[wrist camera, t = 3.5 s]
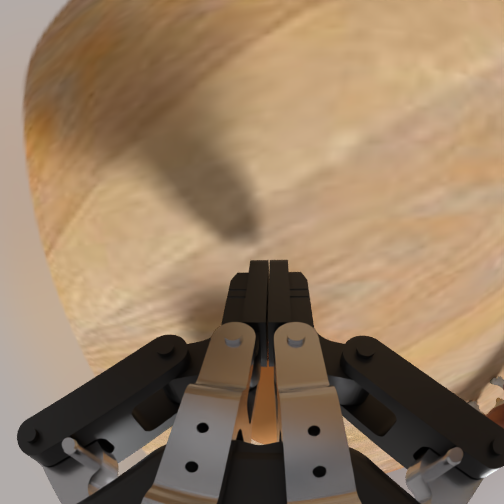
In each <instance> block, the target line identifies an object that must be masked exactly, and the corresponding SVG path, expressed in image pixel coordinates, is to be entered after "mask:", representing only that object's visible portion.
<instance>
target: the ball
mask: <svg viewBox="0 0 504 504" xmlns="http://www.w3.org/2000/svg"><path fill="white" fill-rule="evenodd" d="M251 439H253V440H255V441H257V442H259V443H262V444H270V443H275V442H277V429H276V412H275V397H274V367H269V360H267V367H261V374H260V380H259V388H258V394H257V400H256V407H255V412H254V418H253V424H252V433H251Z"/></svg>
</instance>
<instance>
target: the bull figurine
mask: <svg viewBox="0 0 504 504" xmlns="http://www.w3.org/2000/svg"><path fill="white" fill-rule="evenodd" d="M490 383H491V384H494V385H498V386H500V387H502V388H503V390H504V380H503V379H502V377H501V376H498V377H497V378H493V379H492V380H491V381H490ZM468 404H469V405H471V406H472V407H474V408H475V409H476V410H478V411H479V412H481V411H480V410H479V405H477V402H476V401H470V402H468ZM481 413H482V414H484V413H483V412H481ZM484 415H485V414H484ZM485 416H486V417H488V418H489V419H491V420H492V421H494V422H495V423H496V424H498V425H499V426H501V427H502V428H503V429H504V400H503V399H500V398H497V399H496V405H495V407H494V408H493V409H492V410H491V411H490V412H489V413H488V414H487V415H485Z"/></svg>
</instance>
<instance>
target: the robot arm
mask: <svg viewBox="0 0 504 504" xmlns="http://www.w3.org/2000/svg"><path fill="white" fill-rule="evenodd" d="M268 351H269V367H274V397H275V412H276V429H277V442H275V443H270V444H265V445H254V444H251V433H252V424H253V418H254V412H255V407H256V400H257V394H258V388H259V380H260V374H261V367H267V354H268ZM342 416H343V417H345V418H346V419H347V420H348V421H349V422H350V423H351V424H353V425H354V426H355V427H356V428H357V429H358V430H360V431H361V432H362V433H363V434H364V435H366V436H367V437H368V438H369V439H370V440H371V441H373V442H374V443H375V444H376V445H378V446H379V447H380V448H381V449H382V450H384V451H385V452H386V453H387V454H389V455H390V456H391V457H392V458H394V459H395V460H396V461H397V462H399V463H400V464H401V465H402V466H404V467H405V468H406V469H408V470H407V473H406V485H407V487H408V489H409V490H410V491H411V492H412V493H413V494H414V496H415V498H413V497H412V496H411V495H410V494H409V493H407V492H406V491H405V490H404V489H403V488H401V487H400V486H399V485H398V484H397V483H396V482H394V481H393V480H392V479H391V478H390V477H389V476H388V475H386V474H385V473H384V472H383V471H382V470H381V469H380V468H379V467H377V466H376V465H375V464H374V463H373V462H372V461H371V460H370V459H369V458H367V457H366V456H365V455H363V454H362V453H360V452H359V451H357V450H355V449H353V448H350V447H348V442H347V437H346V432H345V427H344V422H343V417H342ZM172 425H173V427H172V430H171V433H170V436H169V439H168V442H167V444H166V445H164V446H162V447H160V448H158V449H156V450H154V451H153V452H152V453H150V454H149V455H148V456H146V457H145V458H144V459H142V460H141V461H140V462H138V463H137V464H136V465H134V466H133V467H131V468H130V469H129V470H127V471H126V472H124V473H123V474H122V475H120V476H119V477H118V463H119V462H121V461H122V460H124V459H125V458H127V457H128V456H130V455H131V454H133V453H134V452H136V451H137V450H139V449H140V448H142V447H143V446H145V445H146V444H147V443H149V442H150V441H152V440H153V439H154V438H156V437H157V436H159V435H160V434H161V433H163V432H164V431H166V430H167V429H168V428H170V427H171V426H172ZM17 440H18V445H19V447H20V448H21V450H22V451H23V452H24V453H25V454H27V455H28V456H30V457H31V458H33V459H34V460H36V461H37V462H38V463H39V464H40V465H41V466H42V467H43V469H44V471H45V473H46V475H47V477H48V479H49V481H50V483H51V485H52V487H53V489H54V491H55V493H56V495H57V496H58V498H59V500H60V502H61V503H62V504H467V503H468V502H469V500H470V499H471V497H472V496H473V494H474V493H475V491H476V490H477V488H478V486H479V485H480V483H481V482H482V480H483V479H484V478H485V477H486V476H488V475H490V474H491V473H493V472H495V471H496V470H498V469H499V468H501V467H503V466H504V429H503V428H502V427H501V426H499V425H498V424H496V423H495V422H494V421H492V420H491V419H489V418H488V417H486V416H485V415H484V414H482V413H481V412H479V411H478V410H476V409H475V408H474V407H472V406H471V405H469V404H468V403H466V402H465V401H464V400H462V399H461V398H459V397H458V396H456V395H455V394H454V393H452V392H451V391H449V390H448V389H447V388H445V387H444V386H442V385H441V384H439V383H438V382H437V381H435V380H434V379H432V378H431V377H429V376H428V375H427V374H425V373H424V372H422V371H421V370H419V369H418V368H417V367H415V366H414V365H412V364H411V363H410V362H408V361H407V360H405V359H404V358H402V357H401V356H400V355H398V354H397V353H395V352H394V351H392V350H391V349H390V348H388V347H387V346H385V345H384V344H382V343H381V342H380V341H378V340H377V339H375V338H372V337H369V336H356V337H353V338H351V339H350V340H348V341H347V342H346V343H345V344H342V343H337V342H333V341H329V340H327V339H325V338H323V337H322V336H320V335H319V334H318V333H317V332H316V330H315V328H314V325H313V317H312V310H311V303H310V298H309V290H308V282H307V279H306V278H305V277H304V275H303V274H302V273H301V272H288V260H270V271H269V262H268V260H251V261H250V267H249V273H237V274H236V275H235V276H234V277H233V278H232V280H231V282H230V286H229V291H228V296H227V300H226V305H225V310H224V315H223V319H222V324H221V326H219V327H218V328H217V329H216V330H215V331H214V332H213V335H212V337H211V338H209V339H207V340H204V341H200V342H196V343H190V344H186V342H185V341H184V340H183V339H182V338H181V337H179V336H176V335H163V336H160V337H157V338H156V339H154V340H152V341H151V342H149V343H148V344H146V345H145V346H143V347H142V348H140V349H139V350H137V351H136V352H134V353H132V354H131V355H129V356H128V357H126V358H125V359H123V360H122V361H120V362H118V363H117V364H115V365H114V366H112V367H111V368H109V369H108V370H106V371H104V372H103V373H101V374H100V375H98V376H96V377H95V378H93V379H92V380H90V381H89V382H87V383H85V384H84V385H82V386H81V387H79V388H77V389H76V390H74V391H73V392H71V393H69V394H68V395H66V396H65V397H63V398H61V399H60V400H58V401H57V402H55V403H53V404H52V405H50V406H49V407H47V408H45V409H43V410H42V411H40V412H39V413H37V414H35V415H34V416H32V417H30V418H29V419H27V420H26V421H24V422H23V423H22V425H21V426H20V428H19V430H18V434H17Z"/></svg>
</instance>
